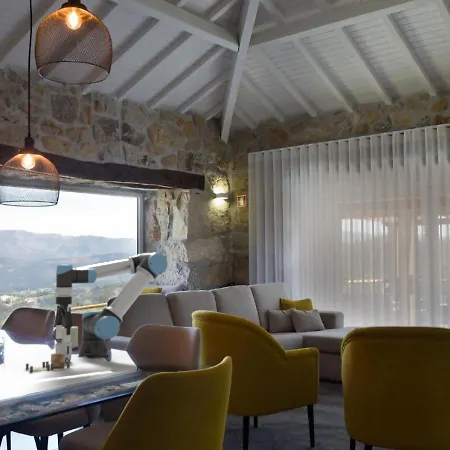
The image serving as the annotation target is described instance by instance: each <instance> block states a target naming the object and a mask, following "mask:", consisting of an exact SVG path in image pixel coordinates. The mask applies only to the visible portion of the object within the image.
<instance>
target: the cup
mask: <svg viewBox="0 0 450 450" xmlns="http://www.w3.org/2000/svg"><path fill="white" fill-rule="evenodd" d="M72 344H73V343H71V342H63V343H62V342H57V343H54V347H55V353H64V354H65V364H67V362H71V359H72V354H73V348H72Z"/></svg>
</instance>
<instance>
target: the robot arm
mask: <svg viewBox="0 0 450 450" xmlns="http://www.w3.org/2000/svg"><path fill="white" fill-rule="evenodd" d="M167 268H168V260H167V258H166V256H165V255H164V254H162V253H161V252H157V251H153V252H143V253H139V254H136V255H131V256H127V257H126V259H125V258H124V259H120V260H114V261H113V260H112V261H108V262H102V263H95V264H91V265H85V266H78V267H73V264H57V266H56V272H55V273H56V274H55V275H56V276H55V277H56V281H55V282H56V286H55V290H54V291H55V296H56V297H55V304H56V305H57V306H56V313H55V319H54V324H55V327H56V328H55V339H56V340H58V339H59V340H60V339H61V340H62V327H64V328H65V342H71V327H73V318H72V309H71V306H69V305H72V303H73V285H74V284H87V285H88V284H94V283H96V280H97V279H102V278H106V277H112V276H119V275H125V274H129V275H133V274H134V275H133V276H132V277H131V279H130V280H129V281H128V282H127V283H126V285H125V286H124V287H123V289H121V291H120V292H119V293H118V294H117V296H116V297H115V298H114V300H113V301H112V303H111V304H110V305H109V306H108V307H104V308H103V309H102V310H101V311H100V310H99V311H87V312H86V311H85V312H83V313H82V315H81V324H82V325H81V330H82V331H81V344H80V346H79V350H78V358H84V357H85V358H87V359H98V358H99V359H100V358H105V357H107V355H108V356H109V350H108V346H107V343H106V340H110V339H113V338H115V337H116V336H117V335H118V333H119V332H120V329H121V327H120V326H121V324H122V323H123V317H124V315H125V314H126V313H127V311H128V310H129V309H130V308H131V306H132V305H133V304H134V302H135V301H136V300H137V299H138V298H139V296H140V295H141V294H142V292H143V291H144V289H146V287H147V286H148V284H149V283H150V282H154V281H155V280H156V278H157V277H158V276H159V275H162V274H164V273H165V272H166V271H167V270H168V269H167ZM63 322H64V326H63Z"/></svg>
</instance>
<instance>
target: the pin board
mask: <svg viewBox="0 0 450 450" xmlns="http://www.w3.org/2000/svg"><path fill="white" fill-rule="evenodd" d="M49 362H50V361H48V360H47V361H42V366H36V367H35V366H33V365H30V363H25V368H24V370H25V371H27V372H28V373H29V374H36V373H37V374H39V373H47V372H55V371H64V370H72V369H73V368H72V367H70V366H71V365H70V362H71V361H70V362H67V363H66V364H65V367H64V368H59V369H53V364H51V363H49Z"/></svg>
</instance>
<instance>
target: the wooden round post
mask: <svg viewBox="0 0 450 450" xmlns="http://www.w3.org/2000/svg"><path fill="white" fill-rule="evenodd" d="M51 364H53V369H59V368H64V367H65V365H66V363H65V354H64V353H56V352H54V353H51V354H50V365H51Z"/></svg>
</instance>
